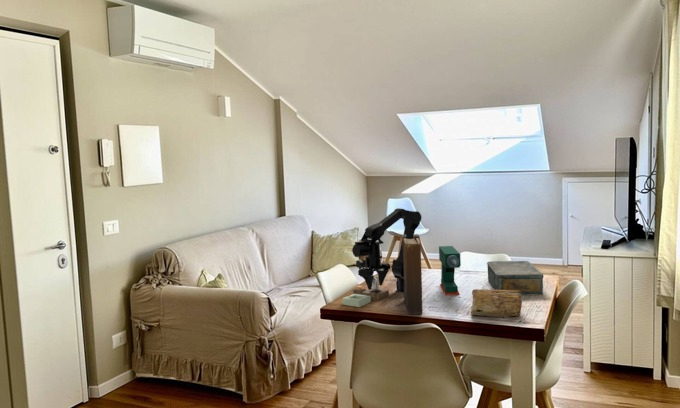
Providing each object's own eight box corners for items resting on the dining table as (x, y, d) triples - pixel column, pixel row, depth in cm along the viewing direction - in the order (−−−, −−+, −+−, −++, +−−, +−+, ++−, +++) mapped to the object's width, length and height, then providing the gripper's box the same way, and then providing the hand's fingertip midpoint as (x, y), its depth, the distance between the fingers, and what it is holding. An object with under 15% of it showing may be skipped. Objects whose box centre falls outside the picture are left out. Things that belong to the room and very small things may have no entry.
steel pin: (380, 296, 254) (379, 277, 253) (376, 298, 251) (375, 278, 250) (374, 295, 256) (373, 276, 255) (370, 297, 253) (369, 278, 252)
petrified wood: (520, 309, 224) (521, 287, 221) (522, 325, 212) (522, 302, 209) (471, 306, 229) (471, 284, 226) (470, 322, 217) (470, 299, 214)
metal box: (529, 279, 278) (528, 260, 277) (545, 295, 246) (544, 273, 245) (486, 280, 280) (485, 261, 280) (496, 296, 248) (496, 274, 248)
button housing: (366, 295, 259) (365, 288, 259) (360, 297, 256) (360, 290, 256) (358, 294, 262) (358, 287, 262) (353, 296, 258) (352, 289, 258)
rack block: (370, 303, 245) (370, 295, 245) (359, 307, 238) (358, 300, 238) (354, 300, 250) (354, 293, 250) (342, 305, 243) (342, 298, 243)
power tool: (465, 302, 239) (464, 257, 237) (449, 302, 239) (448, 257, 238) (454, 285, 271) (453, 245, 269) (439, 286, 271) (438, 246, 270)
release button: (363, 293, 259) (363, 286, 259) (360, 295, 257) (360, 287, 256) (358, 293, 261) (358, 285, 261) (355, 294, 259) (354, 286, 258)
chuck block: (388, 296, 254) (388, 290, 254) (378, 301, 247) (378, 294, 247) (372, 294, 260) (372, 288, 259) (362, 299, 253) (361, 292, 252)
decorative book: (404, 300, 246) (401, 234, 244) (420, 300, 246) (417, 234, 244) (406, 315, 223) (404, 242, 221) (424, 315, 223) (421, 242, 220)
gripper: (370, 249, 264) (371, 281, 265) (347, 256, 249) (349, 290, 251) (390, 251, 257) (391, 284, 259) (368, 258, 243) (369, 292, 244)
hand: (375, 287), depth 253 cm, fingers open, 9 cm apart
